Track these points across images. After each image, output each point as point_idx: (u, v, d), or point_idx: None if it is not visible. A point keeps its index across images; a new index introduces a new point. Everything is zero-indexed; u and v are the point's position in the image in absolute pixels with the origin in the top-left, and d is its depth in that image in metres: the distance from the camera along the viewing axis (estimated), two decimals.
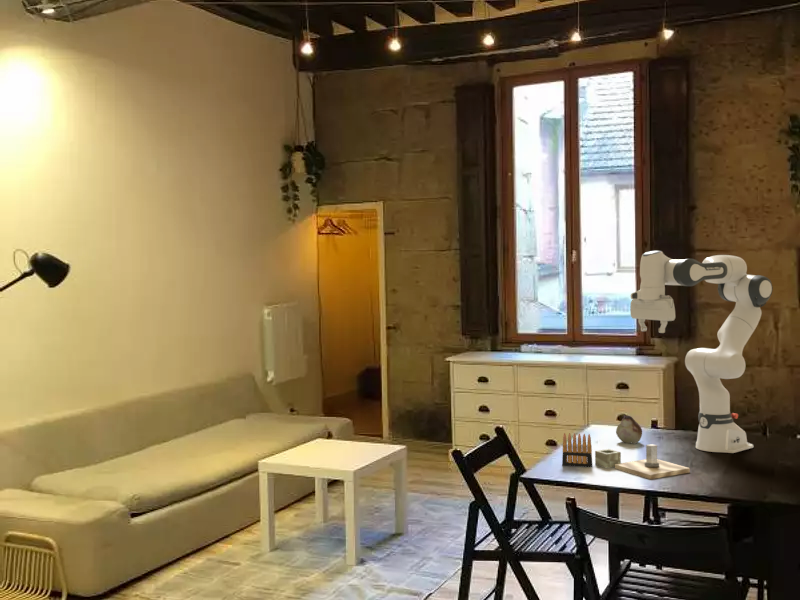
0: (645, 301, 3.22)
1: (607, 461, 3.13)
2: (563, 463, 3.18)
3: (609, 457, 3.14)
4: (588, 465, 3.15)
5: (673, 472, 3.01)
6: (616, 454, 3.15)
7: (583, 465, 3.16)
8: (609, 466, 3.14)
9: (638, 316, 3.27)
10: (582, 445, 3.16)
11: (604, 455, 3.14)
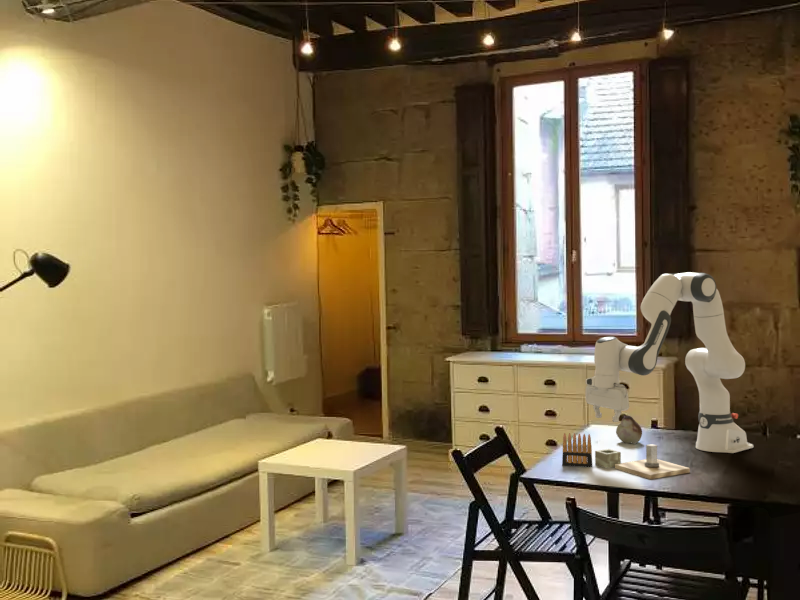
0: (599, 388, 3.15)
1: (607, 461, 3.13)
2: (563, 463, 3.18)
3: (609, 457, 3.14)
4: (588, 465, 3.15)
5: (673, 472, 3.01)
6: (616, 454, 3.15)
7: (583, 465, 3.16)
8: (609, 466, 3.14)
9: (593, 402, 3.21)
10: (582, 445, 3.16)
11: (604, 455, 3.14)
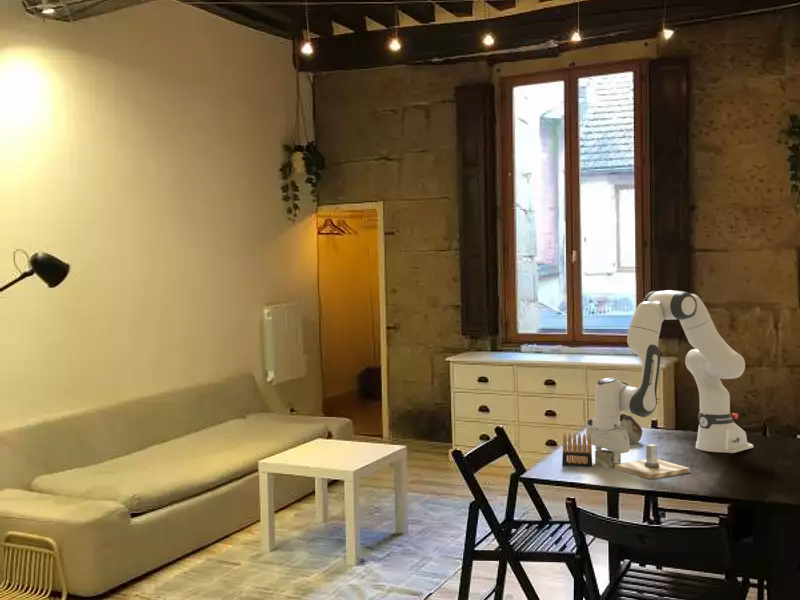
0: (600, 430, 3.16)
1: (607, 461, 3.13)
2: (563, 463, 3.18)
3: (609, 457, 3.14)
4: (588, 465, 3.15)
5: (673, 472, 3.01)
6: None
7: (583, 465, 3.16)
8: (609, 466, 3.14)
9: (593, 443, 3.21)
10: (582, 445, 3.16)
11: (604, 455, 3.14)
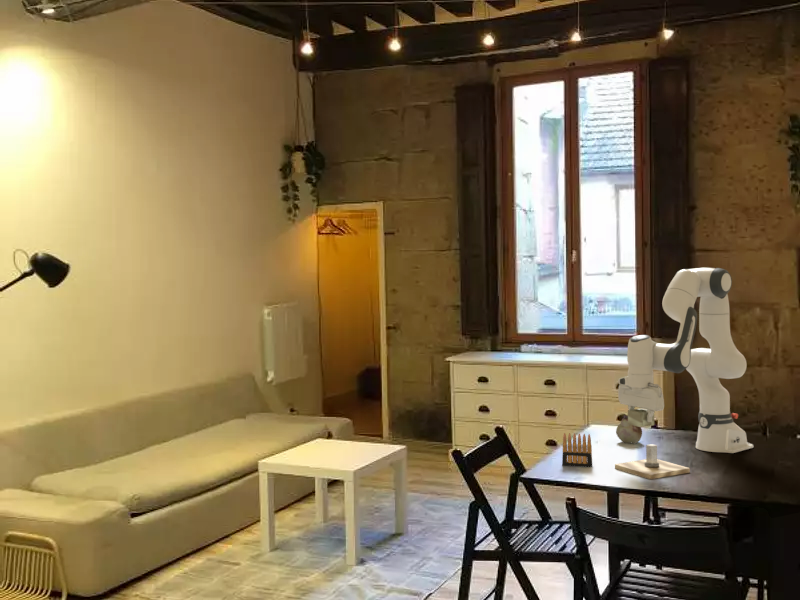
0: (633, 388, 3.08)
1: (640, 420, 3.06)
2: (563, 463, 3.18)
3: (642, 416, 3.06)
4: (588, 465, 3.15)
5: (673, 472, 3.01)
6: None
7: (583, 465, 3.16)
8: (642, 425, 3.06)
9: (626, 402, 3.14)
10: (582, 445, 3.16)
11: (637, 414, 3.07)
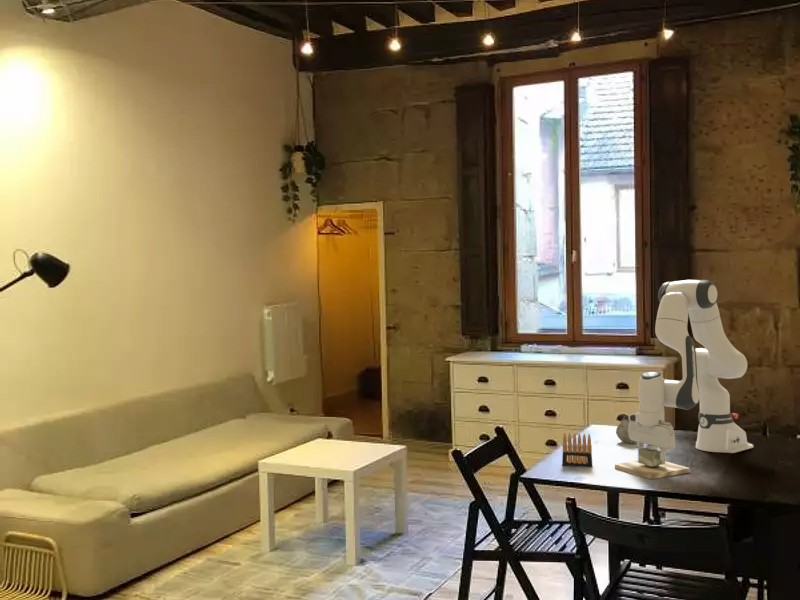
0: (644, 425, 3.07)
1: (651, 459, 3.04)
2: (563, 463, 3.18)
3: (653, 455, 3.05)
4: (588, 465, 3.15)
5: (673, 472, 3.01)
6: None
7: (583, 465, 3.16)
8: (653, 464, 3.05)
9: (636, 439, 3.12)
10: (582, 445, 3.16)
11: (648, 453, 3.05)
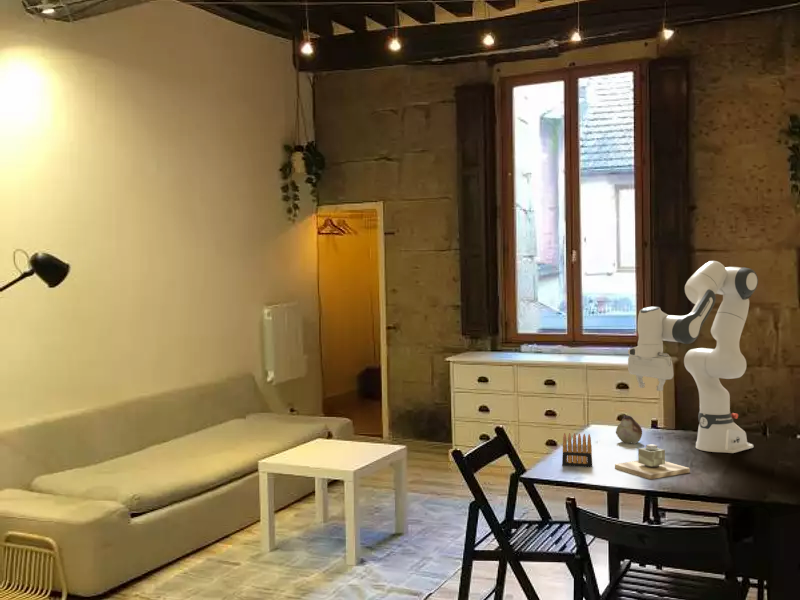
0: (643, 358, 3.17)
1: (651, 459, 3.04)
2: (563, 463, 3.18)
3: (653, 455, 3.05)
4: (588, 465, 3.15)
5: (673, 472, 3.01)
6: (660, 452, 3.06)
7: (583, 465, 3.16)
8: (653, 464, 3.05)
9: (636, 372, 3.23)
10: (582, 445, 3.16)
11: (648, 453, 3.05)
